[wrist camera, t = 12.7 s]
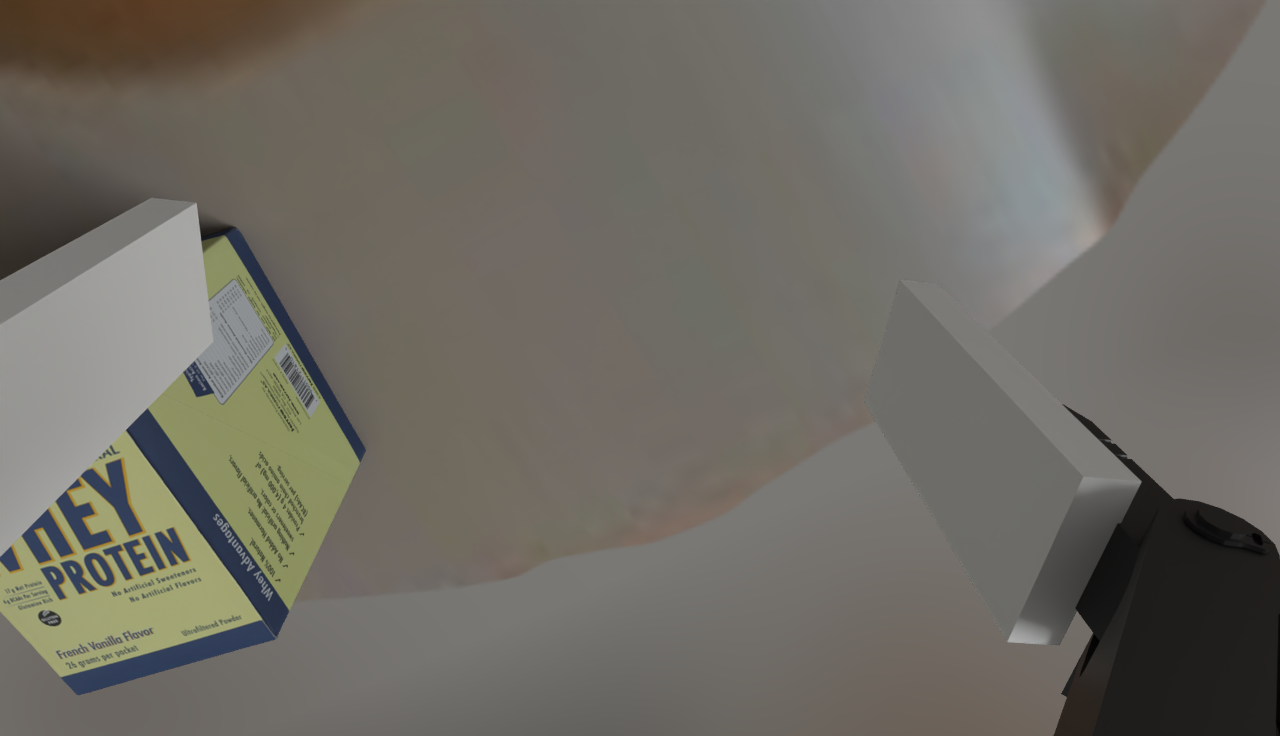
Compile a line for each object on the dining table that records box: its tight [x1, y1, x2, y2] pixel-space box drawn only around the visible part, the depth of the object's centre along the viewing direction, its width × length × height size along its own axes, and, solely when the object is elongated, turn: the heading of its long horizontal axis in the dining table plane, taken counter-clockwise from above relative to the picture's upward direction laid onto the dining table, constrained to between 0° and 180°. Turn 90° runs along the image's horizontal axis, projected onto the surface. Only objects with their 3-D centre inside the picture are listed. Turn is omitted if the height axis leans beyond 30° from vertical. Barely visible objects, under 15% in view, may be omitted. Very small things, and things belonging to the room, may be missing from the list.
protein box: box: [0, 228, 366, 695], centre depth 40 cm, size 10×16×16 cm
